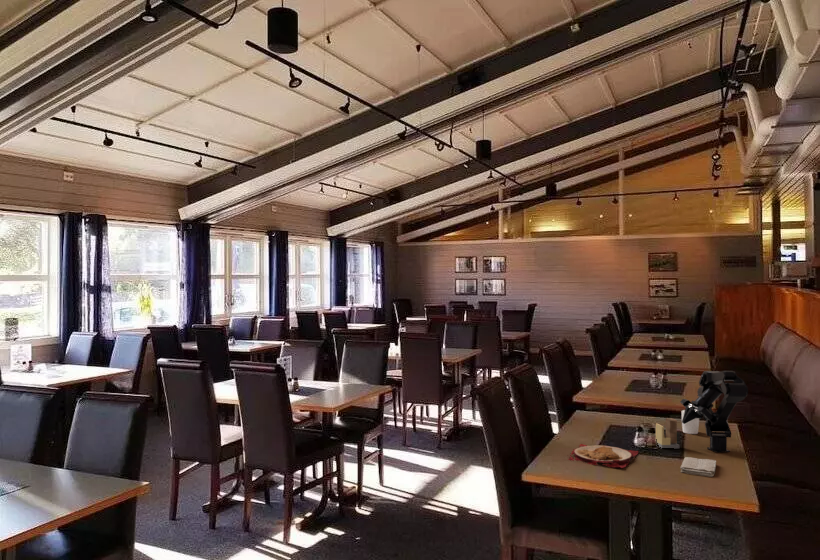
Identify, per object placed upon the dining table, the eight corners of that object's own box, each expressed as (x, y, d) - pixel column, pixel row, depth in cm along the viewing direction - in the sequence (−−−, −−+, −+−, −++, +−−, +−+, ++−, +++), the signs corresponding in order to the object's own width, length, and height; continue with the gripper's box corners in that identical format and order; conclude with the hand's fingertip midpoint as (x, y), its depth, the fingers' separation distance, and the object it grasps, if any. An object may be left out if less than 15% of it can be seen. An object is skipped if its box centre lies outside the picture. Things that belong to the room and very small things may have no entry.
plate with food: (638, 455, 261) (638, 447, 261) (623, 470, 239) (623, 461, 239) (580, 447, 274) (580, 439, 274) (561, 461, 252) (561, 452, 252)
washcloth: (679, 474, 236) (680, 466, 236) (683, 461, 252) (683, 454, 252) (714, 479, 230) (714, 470, 230) (716, 466, 246) (716, 458, 246)
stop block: (672, 440, 275) (672, 418, 274) (676, 443, 271) (676, 420, 270) (665, 441, 274) (665, 418, 274) (669, 443, 270) (670, 420, 270)
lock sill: (672, 444, 276) (672, 423, 276) (679, 448, 269) (679, 426, 269) (655, 444, 275) (655, 423, 275) (661, 448, 269) (662, 426, 269)
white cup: (695, 430, 301) (696, 410, 301) (701, 434, 293) (702, 413, 293) (678, 430, 302) (679, 409, 302) (684, 434, 294) (684, 413, 294)
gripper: (732, 415, 265) (706, 441, 265) (708, 405, 284) (684, 430, 283) (714, 397, 264) (689, 423, 264) (692, 388, 283) (668, 413, 282)
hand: (683, 423), depth 273 cm, fingers closed
